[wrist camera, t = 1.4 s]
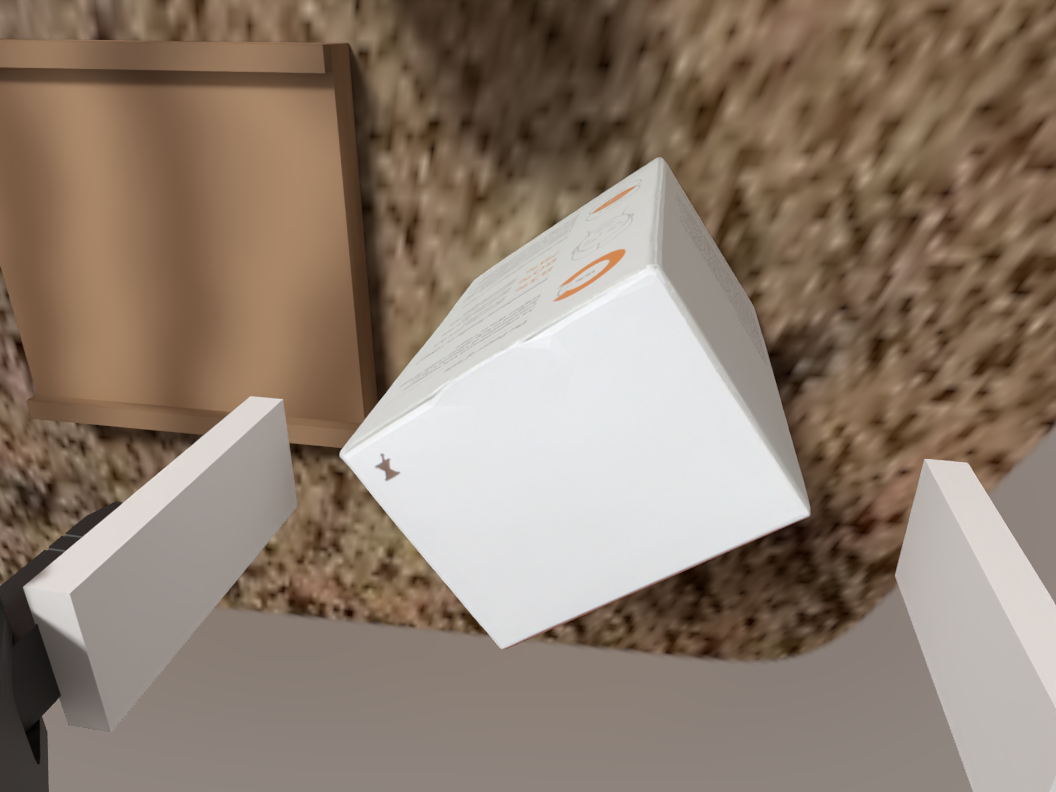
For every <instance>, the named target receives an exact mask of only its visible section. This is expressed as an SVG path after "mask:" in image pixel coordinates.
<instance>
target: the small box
mask: <svg viewBox="0 0 1056 792" xmlns="http://www.w3.org/2000/svg"><path fill="white" fill-rule="evenodd" d="M339 454H340V457H341V458H342V460H343V461H344V462H345V463H346V464H347V465H348V466H349V467H350V468H351V469H352V471H353V472H354V473H355V474H356V476H357V477H358V478H359V479H360V481H361V482H362V483H363V484H364V486H365V487H366V488H367V489H368V491H369V492H370V493H371V494H372V496H373V497H374V498H375V499H376V501H377V502H378V503H379V504H380V505H381V507H382V508H383V509H384V510H385V512H386V513H387V514H388V515H389V517H390V518H391V519H392V520H393V521H394V523H395V524H396V525H397V526H398V527H399V529H400V530H401V531H402V532H403V533H404V535H405V536H406V537H407V538H408V539H409V541H410V542H411V543H412V544H413V545H414V547H415V548H416V549H417V550H418V551H419V553H420V554H421V555H422V556H423V557H424V559H425V560H426V561H427V562H428V563H429V565H430V566H431V567H432V568H433V569H434V570H435V572H436V573H437V574H438V575H439V576H440V578H441V579H442V580H443V581H444V582H445V583H446V585H447V586H448V587H449V588H450V589H451V590H452V592H453V593H454V594H455V595H456V596H457V598H458V599H459V600H460V601H461V602H462V604H463V605H464V606H465V607H466V609H467V610H468V611H469V612H470V613H471V614H472V616H473V617H474V618H475V619H476V620H477V621H478V623H479V624H480V625H481V626H482V627H483V628H484V629H485V630H486V632H487V633H488V634H489V635H490V636H491V638H492V639H493V640H494V641H495V643H496V644H497V645H498V646H499V647H500V648H501V649H507V648H510V647H512V646H514V645H517V644H519V643H521V642H523V641H526V640H528V639H530V638H532V637H535V636H537V635H539V634H541V633H544V632H546V631H548V630H551V629H553V628H555V627H557V626H560V625H562V624H564V623H567V622H569V621H571V620H573V619H576V618H578V617H580V616H583V615H585V614H587V613H590V612H592V611H594V610H597V609H599V608H601V607H603V606H606V605H608V604H610V603H612V602H614V601H617V600H619V599H621V598H623V597H626V596H628V595H630V594H633V593H635V592H637V591H640V590H642V589H644V588H647V587H649V586H651V585H654V584H656V583H658V582H660V581H663V580H665V579H667V578H670V577H672V576H674V575H677V574H679V573H681V572H683V571H686V570H688V569H690V568H692V567H695V566H697V565H699V564H701V563H703V562H706V561H708V560H711V559H713V558H715V557H717V556H720V555H722V554H724V553H726V552H729V551H731V550H733V549H736V548H738V547H740V546H743V545H745V544H747V543H750V542H752V541H754V540H757V539H759V538H761V537H764V536H766V535H768V534H771V533H773V532H775V531H777V530H780V529H782V528H784V527H786V526H789V525H791V524H793V523H796V522H798V521H800V520H803V519H806V518H808V517H810V504H809V500H808V496H807V492H806V488H805V484H804V481H803V477H802V474H801V470H800V467H799V463H798V460H797V456H796V453H795V449H794V446H793V442H792V439H791V435H790V432H789V428H788V424H787V420H786V417H785V414H784V410H783V407H782V403H781V400H780V396H779V392H778V389H777V385H776V381H775V378H774V374H773V371H772V367H771V363H770V360H769V356H768V353H767V349H766V346H765V342H764V339H763V336H762V333H761V329H760V326H759V322H758V319H757V315H756V312H755V308H754V307H753V305H752V303H751V301H750V300H749V298H748V296H747V295H746V293H745V291H744V290H743V288H742V287H741V285H740V283H739V282H738V280H737V278H736V277H735V275H734V273H733V272H732V270H731V268H730V267H729V265H728V264H727V262H726V260H725V259H724V257H723V255H722V254H721V252H720V250H719V249H718V247H717V246H716V244H715V242H714V241H713V239H712V237H711V236H710V234H709V232H708V231H707V229H706V227H705V226H704V224H703V222H702V221H701V219H700V217H699V216H698V214H697V212H696V211H695V209H694V208H693V206H692V204H691V203H690V201H689V199H688V198H687V196H686V194H685V193H684V191H683V189H682V188H681V186H680V184H679V183H678V181H677V179H676V178H675V176H674V174H673V173H672V171H671V169H670V168H669V166H668V164H667V163H666V162H665V160H664V159H663V158H662V157H658V158H656V159H655V160H653V161H651V162H650V163H648V164H647V165H645V166H644V167H642V168H640V169H639V170H637V171H636V172H634V173H633V174H631V175H629V176H628V177H626V178H625V179H623V180H622V181H620V182H619V183H617V184H616V185H614V186H613V187H611V188H610V189H608V190H607V191H605V192H604V193H602V194H601V195H599V196H598V197H596V198H594V199H593V200H591V201H590V202H588V203H587V204H585V205H584V206H582V207H581V208H579V209H578V210H576V211H575V212H573V213H572V214H570V215H569V216H567V217H566V218H564V219H563V220H561V221H560V222H558V223H557V224H555V225H554V226H553V227H551V228H550V229H548V230H547V231H545V232H544V233H542V234H541V235H539V236H538V237H536V238H535V239H533V240H532V241H530V242H529V243H527V244H526V245H524V246H523V247H521V248H520V249H518V250H517V251H515V252H514V253H512V254H511V255H509V256H508V257H506V258H505V259H503V260H502V261H500V262H499V263H497V264H496V265H495V266H493V267H492V268H490V269H489V270H487V271H486V272H485V273H483V274H482V275H481V276H479V277H478V278H476V279H475V280H474V281H473V282H472V283H471V285H470V286H469V288H468V289H467V290H466V291H465V293H464V294H463V295H462V297H461V298H460V299H459V300H458V302H457V303H456V305H455V306H454V307H453V309H452V310H451V311H450V313H449V314H448V316H447V317H446V318H445V320H444V321H443V322H442V323H441V325H440V326H439V327H438V328H437V330H436V331H435V332H434V333H433V335H432V336H431V337H430V338H429V340H428V341H427V342H426V343H425V345H424V346H423V347H422V348H421V350H420V351H419V352H418V353H417V354H416V355H415V357H414V358H413V359H412V360H411V362H410V363H409V364H408V365H407V367H406V368H405V369H404V370H403V372H402V373H401V374H400V375H399V377H398V378H397V379H396V380H395V382H394V383H393V384H392V386H391V387H390V388H389V390H388V391H387V392H386V393H385V395H384V396H383V397H382V399H381V400H380V401H379V402H378V404H377V405H376V406H375V407H374V409H373V410H372V411H371V412H370V414H369V415H368V416H367V418H366V419H365V420H364V421H363V423H362V424H361V425H360V427H359V428H358V429H357V430H356V432H355V433H354V434H353V436H352V437H351V438H350V439H349V441H348V442H347V443H346V444H345V446H344V447H343V448H342V450H341V451H340V453H339Z"/></svg>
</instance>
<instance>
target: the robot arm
mask: <svg viewBox="0 0 1056 792" xmlns="http://www.w3.org/2000/svg"><path fill="white" fill-rule="evenodd" d="M297 506H298V504H297V497H296V490H295V482H294V475H293V468H292V461H291V453H290V446H289V439H288V432H287V424H286V417H285V410H284V403H283V399H276V398H265V397H255V396H250V397H249V398H248V399H247V400H245V401H244V402H243V403H242V404H241V405H239V406H238V407H237V408H236V409H235V410H233V411H232V412H231V413H230V414H229V415H227V416H226V417H225V418H224V419H223V420H221V421H220V422H219V423H218V424H217V425H215V426H214V427H213V428H212V429H211V430H210V431H208V432H207V433H206V434H205V435H204V436H202V437H201V438H200V439H199V440H198V441H196V442H195V443H194V444H193V445H192V446H190V447H189V448H188V449H187V450H186V451H184V452H183V453H182V454H181V455H180V456H179V457H177V458H176V459H175V460H174V461H173V462H171V463H170V464H169V465H168V466H167V467H165V468H164V469H163V470H162V471H161V472H159V473H158V474H157V475H156V476H155V477H153V478H152V479H151V480H150V481H149V482H148V483H146V484H145V485H144V486H143V487H142V488H140V489H139V490H138V491H137V492H136V493H134V494H133V495H132V496H131V497H130V498H128V499H127V500H126V501H125V502H124V503H121V502H114V503H112V504H110V505H108V506H106V507H104V508H102V509H100V510H98V511H96V512H94V513H92V514H90V515H88V516H86V517H85V518H84V519H82V520H81V521H80V522H79V523H77V524H76V525H75V526H74V527H73V528H71V529H70V530H69V531H68V532H66V536H61V537H60V538H59V539H58V540H56V541H55V542H54V543H53V544H52V545H50V546H49V550H48V551H47V550H44V551H43V552H42V553H40V554H39V555H38V556H37V557H36V558H34V559H33V560H32V561H31V562H29V563H28V564H27V565H26V566H24V567H23V568H22V569H21V570H19V571H18V572H17V573H16V574H15V575H13V576H12V577H11V578H10V579H8V580H7V581H6V582H5V583H3V584H2V585H1V586H0V792H49V786H48V743H47V742H48V741H47V730H46V727H45V724H44V721H43V718H42V715H43V714H44V713H45V712H46V711H47V710H48V709H49V708H50V707H51V706H52V705H53V704H54V703H55V702H56V700H57V699H58V698H60V701H61V704H62V707H63V710H64V713H65V716H66V719H67V722H68V725H71V726H76V727H82V728H88V729H93V730H99V731H105V732H112V731H113V730H114V729H115V727H116V726H117V725H118V724H119V722H120V721H121V720H122V719H123V718H124V717H125V715H126V714H127V713H128V712H129V710H130V709H131V708H132V707H133V706H134V704H135V703H136V702H137V701H138V699H139V698H140V697H141V696H142V695H143V693H144V692H145V691H146V690H147V688H148V687H149V686H150V685H151V684H152V683H153V681H154V680H155V679H156V678H157V676H158V675H159V674H160V673H161V672H162V670H163V669H164V668H165V667H166V666H167V664H168V663H169V662H170V661H171V659H172V658H173V657H174V656H175V654H176V653H177V652H178V651H179V650H180V649H181V647H182V646H183V645H184V644H185V642H186V641H187V640H188V639H189V638H190V636H191V635H192V634H193V633H194V632H195V630H196V629H197V628H198V627H199V625H200V624H201V623H202V622H203V621H204V619H205V618H206V617H207V616H208V614H209V613H210V612H211V611H212V610H213V608H214V607H215V606H216V605H217V604H218V602H219V601H220V600H221V599H222V597H223V596H224V595H225V594H226V593H227V591H228V590H229V589H230V588H231V587H232V585H233V584H234V583H235V582H236V580H237V579H238V578H239V577H240V576H241V574H242V573H243V572H244V571H245V570H246V568H247V567H248V566H249V565H250V563H251V562H252V561H253V560H254V559H255V557H256V556H257V555H258V554H259V553H260V551H261V550H262V549H263V548H264V546H265V545H266V544H267V543H268V542H269V540H270V539H271V538H272V537H273V536H274V534H275V533H276V532H277V531H278V529H279V528H280V527H281V526H282V525H283V523H284V522H285V521H286V520H287V519H288V517H289V516H290V515H291V514H292V512H293V511H294V510H295V509H296V508H297ZM895 577H896V580H897V583H898V586H899V588H900V591H901V594H902V596H903V599H904V602H905V605H906V608H907V610H908V613H909V616H910V619H911V622H912V624H913V627H914V630H915V632H916V635H917V638H918V640H919V644H920V646H921V649H922V652H923V655H924V657H925V660H926V663H927V666H928V669H929V671H930V674H931V677H932V680H933V682H934V685H935V688H936V691H937V693H938V696H939V699H940V701H941V704H942V707H943V710H944V713H945V716H946V718H947V721H948V724H949V727H950V729H951V732H952V735H953V738H954V741H955V743H956V746H957V749H958V752H959V754H960V757H961V760H962V763H963V765H964V768H965V771H966V774H967V776H968V779H969V782H970V785H971V788H972V790H973V792H1056V605H1055V603H1054V601H1053V600H1052V598H1051V597H1050V595H1049V593H1048V592H1047V590H1046V588H1045V587H1044V585H1043V584H1042V582H1041V580H1040V579H1039V577H1038V576H1037V574H1036V572H1035V571H1034V569H1033V568H1032V566H1031V564H1030V563H1029V561H1028V559H1027V558H1026V556H1025V554H1024V553H1023V551H1022V550H1021V548H1020V547H1019V545H1018V543H1017V542H1016V540H1015V538H1014V537H1013V535H1012V534H1011V532H1010V530H1009V529H1008V527H1007V526H1006V524H1005V522H1004V521H1003V519H1002V517H1001V516H1000V514H999V513H998V511H997V509H996V508H995V506H994V505H993V503H992V501H991V500H990V498H989V496H988V495H987V493H986V492H985V490H984V488H983V487H982V485H981V483H980V482H979V480H978V479H977V477H976V475H975V474H974V472H973V471H972V469H971V467H970V466H969V464H968V463H964V462H953V461H943V460H932V459H924V463H923V467H922V471H921V475H920V479H919V483H918V487H917V491H916V494H915V498H914V502H913V506H912V510H911V514H910V518H909V522H908V526H907V530H906V534H905V538H904V542H903V546H902V550H901V554H900V558H899V562H898V566H897V570H896V574H895Z"/></svg>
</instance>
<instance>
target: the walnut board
mask: <svg viewBox="0 0 1056 792" xmlns="http://www.w3.org/2000/svg"><path fill="white" fill-rule="evenodd" d="M0 266H1V269H2V273H3V276H4V280H5V283H6V287H7V290H8V294H9V297H10V301H11V304H12V308H13V311H14V315H15V318H16V322H17V325H18V329H19V332H20V336H21V340H22V343H23V347H24V350H25V354H26V357H27V361H28V364H29V368H30V371H31V375H32V378H33V382H34V385H35V389H36V392H37V395H35V396H34V397H32V398H30V399H28V400H27V401H26V402H27V405H28V408H29V412H30V415H31V419H41V420H52V421H62V422H73V423H83V424H94V425H105V426H115V427H126V428H136V429H147V430H157V431H168V432H179V433H189V434H200V435H205V434H206V433H207V432H208V431H210V430H211V429H212V428H213V427H214V426H215V425H217V424H218V423H219V422H220V421H221V420H223V419H224V418H225V417H226V416H227V415H229V414H230V413H231V412H232V411H233V410H235V409H236V408H237V407H238V406H239V405H241V404H242V403H243V402H244V401H245V400H247V399H248V398H249V397H250V396H255V397H265V398H276V399H283V403H284V410H285V417H286V424H287V432H288V439H289V443H295V444H306V445H316V446H327V447H337V448H343V447H344V446H345V444H346V443H347V442H348V441H349V439H350V438H351V437H352V436H353V434H354V433H355V432H356V430H357V429H358V428H359V427H360V425H361V424H362V423H363V421H364V420H365V419H366V418H367V416H368V415H369V414H370V412H371V411H372V410H373V409H374V407H375V406H376V405H377V404H378V398H377V386H376V374H375V362H374V350H373V337H372V325H371V313H370V301H369V289H368V276H367V264H366V252H365V240H364V228H363V215H362V203H361V191H360V179H359V167H358V155H357V142H356V130H355V118H354V106H353V94H352V81H351V69H350V57H349V45H348V43H292V42H210V41H127V40H45V39H0Z"/></svg>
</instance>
